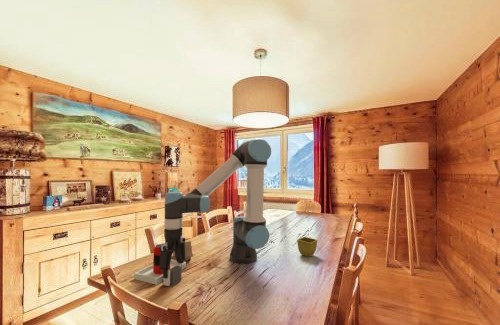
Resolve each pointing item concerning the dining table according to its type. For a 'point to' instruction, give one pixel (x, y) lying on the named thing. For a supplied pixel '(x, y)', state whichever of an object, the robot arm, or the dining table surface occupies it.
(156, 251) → the soda can
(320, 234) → the dining table surface
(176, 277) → the dark grey block
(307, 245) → the flower pot
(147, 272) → the tray
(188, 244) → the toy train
